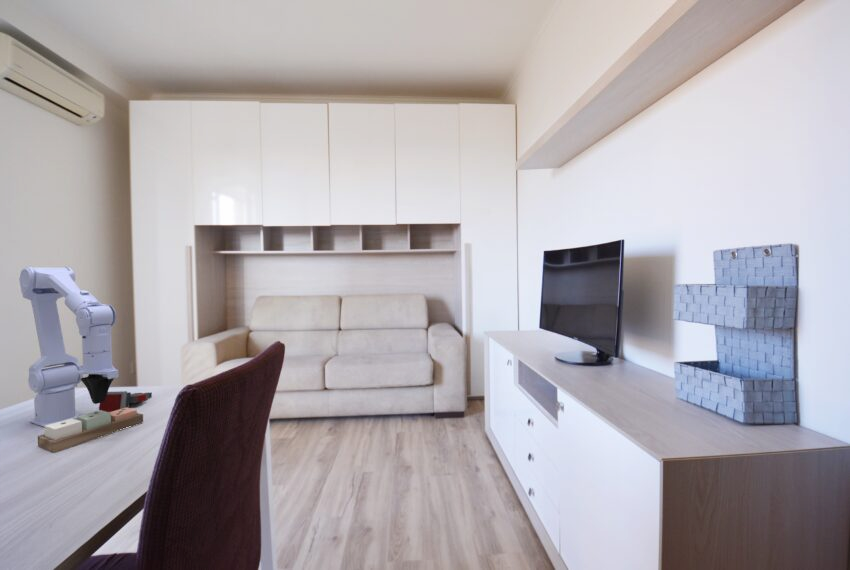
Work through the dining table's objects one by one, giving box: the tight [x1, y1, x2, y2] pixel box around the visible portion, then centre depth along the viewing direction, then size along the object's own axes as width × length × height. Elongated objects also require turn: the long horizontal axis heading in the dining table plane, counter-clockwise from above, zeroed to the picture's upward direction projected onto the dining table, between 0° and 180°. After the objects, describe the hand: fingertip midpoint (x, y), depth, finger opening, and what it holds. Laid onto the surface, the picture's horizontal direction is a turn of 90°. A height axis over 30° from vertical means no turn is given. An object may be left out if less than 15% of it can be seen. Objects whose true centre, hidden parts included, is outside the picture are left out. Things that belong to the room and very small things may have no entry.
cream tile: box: [44, 418, 82, 441], centre depth 89 cm, size 5×5×4 cm
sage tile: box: [76, 409, 111, 431], centre depth 94 cm, size 5×5×4 cm
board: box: [37, 412, 144, 454], centre depth 94 cm, size 8×19×2 cm, turn 156°
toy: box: [98, 390, 153, 412], centre depth 115 cm, size 9×6×15 cm
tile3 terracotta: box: [109, 407, 138, 422], centre depth 100 cm, size 5×5×4 cm
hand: (99, 402), depth 95 cm, fingers closed
